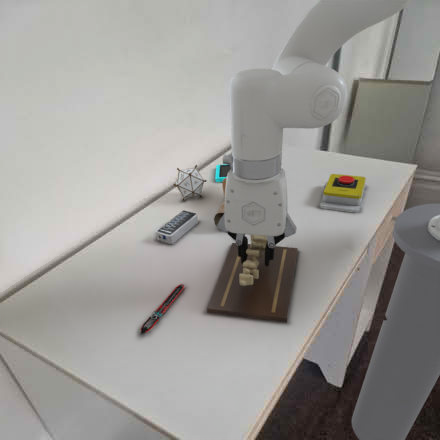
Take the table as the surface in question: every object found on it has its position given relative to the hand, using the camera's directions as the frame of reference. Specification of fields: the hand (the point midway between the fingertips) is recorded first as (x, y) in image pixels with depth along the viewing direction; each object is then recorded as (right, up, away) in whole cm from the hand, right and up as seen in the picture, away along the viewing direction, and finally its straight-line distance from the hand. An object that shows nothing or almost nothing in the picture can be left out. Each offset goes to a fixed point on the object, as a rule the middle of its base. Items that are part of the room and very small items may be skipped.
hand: (256, 259), depth 69 cm
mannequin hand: (-3, +16, +27) cm, 31 cm away
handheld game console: (0, +29, +41) cm, 50 cm away
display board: (0, -4, +3) cm, 5 cm away
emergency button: (+25, +18, +26) cm, 40 cm away
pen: (-17, -9, -1) cm, 19 cm away
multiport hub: (-16, +8, +19) cm, 26 cm away
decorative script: (0, 0, 0) cm, 1 cm away
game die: (-14, +20, +31) cm, 40 cm away
